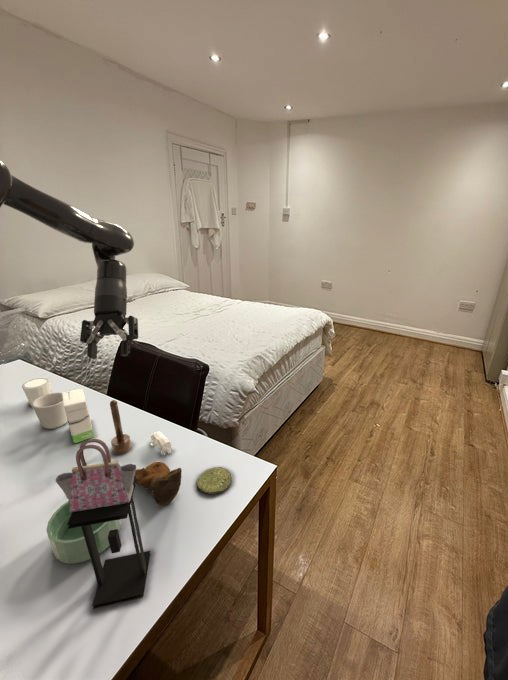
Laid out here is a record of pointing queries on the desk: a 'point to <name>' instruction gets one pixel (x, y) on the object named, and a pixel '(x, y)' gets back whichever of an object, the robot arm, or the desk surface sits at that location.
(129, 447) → the brown wooden pestle
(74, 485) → the handbag
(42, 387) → the white cup
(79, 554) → the bowl
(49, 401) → the cup
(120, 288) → the robot arm
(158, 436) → the figurine
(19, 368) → the desk surface
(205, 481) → the medallion
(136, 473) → the sculpture
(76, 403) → the ink box
